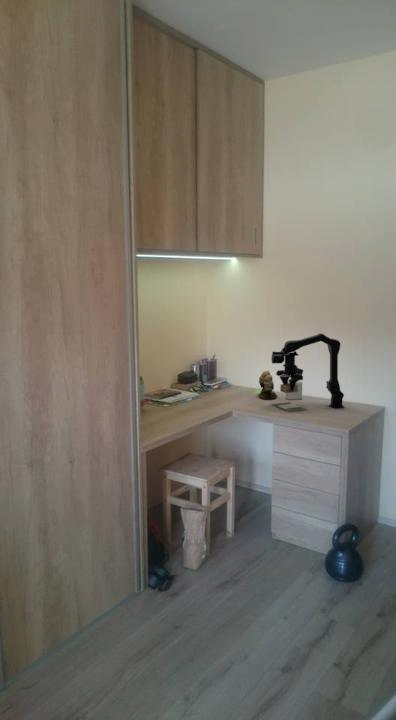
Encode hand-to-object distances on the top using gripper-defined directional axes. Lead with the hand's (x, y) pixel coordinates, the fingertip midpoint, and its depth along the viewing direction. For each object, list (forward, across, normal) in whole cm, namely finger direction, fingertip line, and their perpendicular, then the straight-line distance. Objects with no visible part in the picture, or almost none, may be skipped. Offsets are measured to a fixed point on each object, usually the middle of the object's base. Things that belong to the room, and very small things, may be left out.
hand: (289, 389), depth 303 cm
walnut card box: (+1, 0, 0) cm, 1 cm away
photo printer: (+11, +16, -15) cm, 24 cm away
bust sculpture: (+11, +27, -3) cm, 29 cm away
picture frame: (+10, 0, 0) cm, 11 cm away
